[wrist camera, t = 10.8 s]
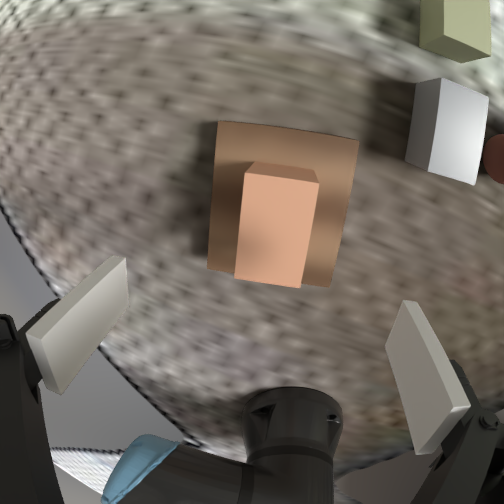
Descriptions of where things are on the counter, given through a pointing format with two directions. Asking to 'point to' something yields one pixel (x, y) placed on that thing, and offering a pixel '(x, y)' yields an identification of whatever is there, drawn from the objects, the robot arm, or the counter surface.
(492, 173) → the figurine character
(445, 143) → the grey brick
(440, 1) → the olive brick
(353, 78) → the counter surface
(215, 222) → the walnut board
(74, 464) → the counter surface
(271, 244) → the terracotta brick
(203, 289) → the counter surface
